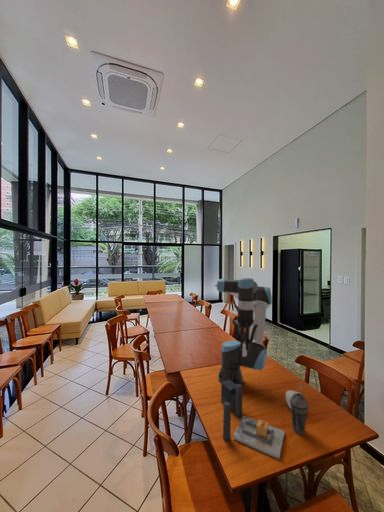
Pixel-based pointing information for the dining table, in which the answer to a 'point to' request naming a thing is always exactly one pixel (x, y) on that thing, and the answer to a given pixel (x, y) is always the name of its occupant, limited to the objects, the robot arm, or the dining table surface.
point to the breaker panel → (259, 437)
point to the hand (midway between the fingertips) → (244, 355)
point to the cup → (289, 396)
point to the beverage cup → (299, 412)
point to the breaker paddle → (262, 428)
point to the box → (228, 393)
